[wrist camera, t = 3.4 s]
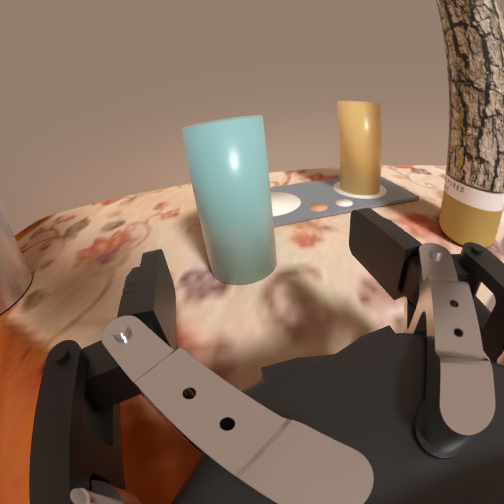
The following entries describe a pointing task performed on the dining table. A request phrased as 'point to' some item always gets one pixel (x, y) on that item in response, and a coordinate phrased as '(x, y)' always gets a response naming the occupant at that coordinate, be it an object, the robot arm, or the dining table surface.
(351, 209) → the card
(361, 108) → the amber tube
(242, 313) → the dining table surface
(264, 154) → the teal tube
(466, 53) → the wooden log
